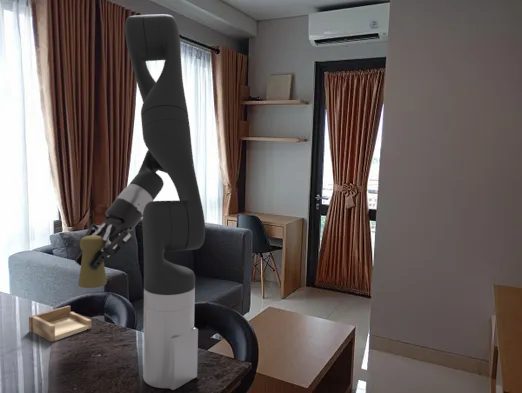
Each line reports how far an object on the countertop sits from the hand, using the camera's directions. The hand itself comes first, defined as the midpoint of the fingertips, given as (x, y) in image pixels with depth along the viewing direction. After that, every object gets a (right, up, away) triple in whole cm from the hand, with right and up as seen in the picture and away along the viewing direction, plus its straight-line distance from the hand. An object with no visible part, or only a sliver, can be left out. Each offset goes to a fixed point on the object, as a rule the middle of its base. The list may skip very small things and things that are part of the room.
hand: (84, 265), depth 96 cm
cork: (+1, -5, +2) cm, 5 cm away
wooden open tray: (-7, -16, +4) cm, 17 cm away
